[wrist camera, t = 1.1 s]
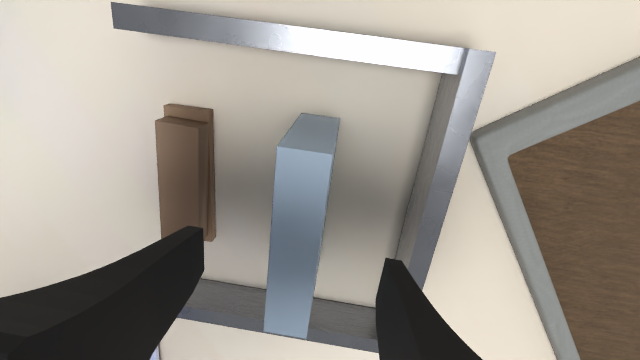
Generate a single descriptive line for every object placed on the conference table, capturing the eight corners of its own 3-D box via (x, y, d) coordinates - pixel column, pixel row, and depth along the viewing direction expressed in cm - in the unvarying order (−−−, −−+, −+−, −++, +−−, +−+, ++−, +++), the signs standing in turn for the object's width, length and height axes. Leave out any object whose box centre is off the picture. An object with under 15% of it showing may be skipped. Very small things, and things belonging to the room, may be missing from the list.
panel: (288, 254, 21) (263, 331, 15) (301, 112, 17) (276, 146, 12) (319, 259, 21) (306, 338, 15) (340, 118, 17) (332, 154, 12)
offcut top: (172, 228, 20) (161, 239, 19) (167, 115, 17) (155, 120, 16) (207, 235, 20) (198, 246, 19) (208, 122, 17) (198, 128, 16)
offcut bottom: (183, 226, 22) (173, 236, 20) (174, 101, 18) (163, 105, 17) (219, 231, 21) (211, 241, 20) (217, 107, 18) (208, 111, 17)
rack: (167, 284, 23) (141, 318, 20) (146, 7, 16) (102, 0, 13) (394, 323, 22) (399, 364, 19) (471, 49, 15) (496, 52, 13)
